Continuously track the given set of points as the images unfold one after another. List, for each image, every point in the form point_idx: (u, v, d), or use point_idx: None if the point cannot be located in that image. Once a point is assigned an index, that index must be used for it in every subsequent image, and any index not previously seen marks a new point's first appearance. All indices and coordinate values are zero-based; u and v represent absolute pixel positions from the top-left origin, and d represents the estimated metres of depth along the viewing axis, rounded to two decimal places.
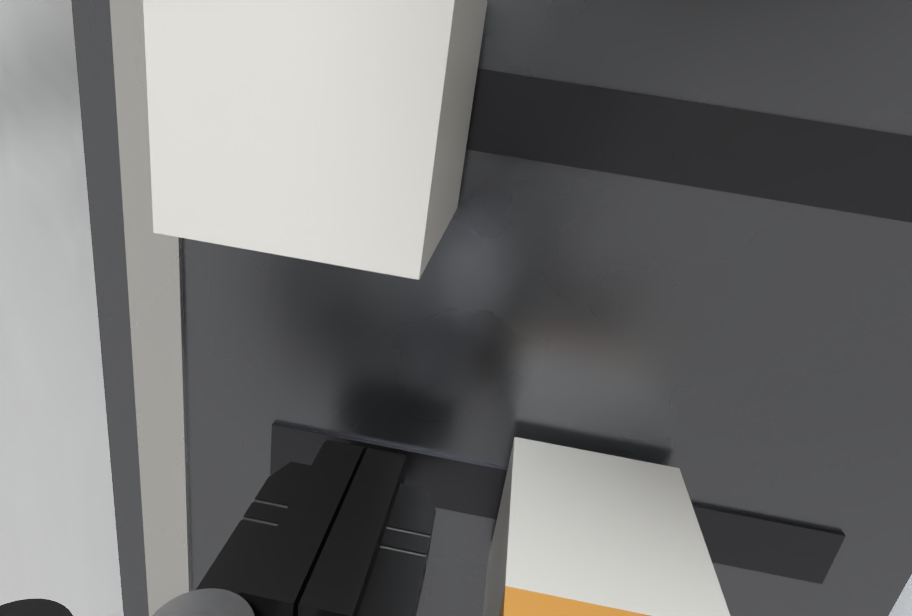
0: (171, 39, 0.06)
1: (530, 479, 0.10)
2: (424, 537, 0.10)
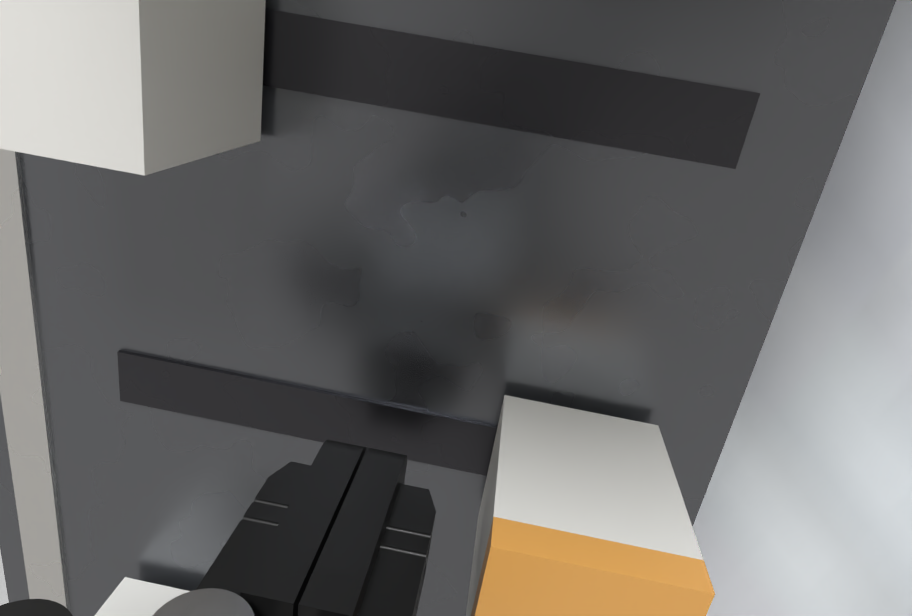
0: None
1: (519, 430, 0.11)
2: (424, 537, 0.10)
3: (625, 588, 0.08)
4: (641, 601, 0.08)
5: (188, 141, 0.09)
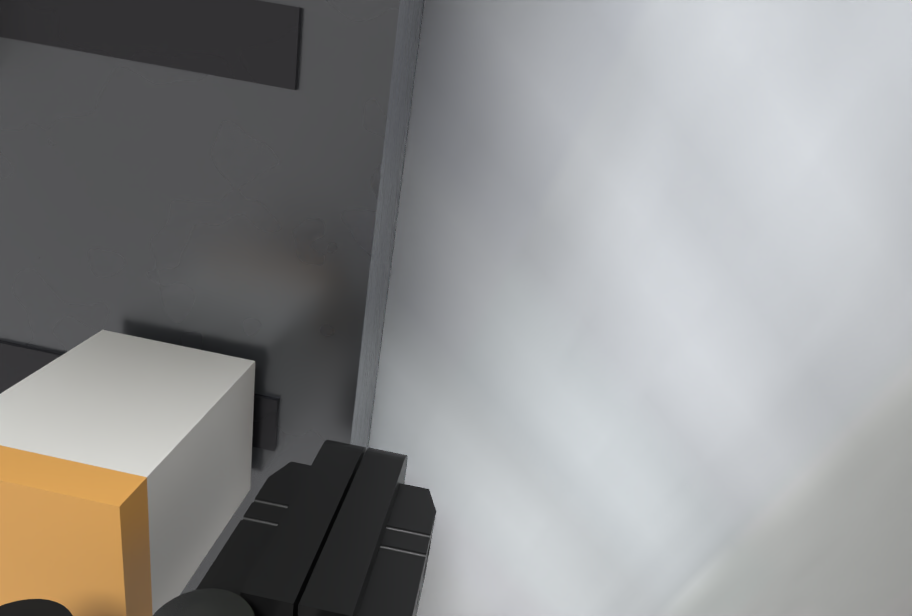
0: None
1: (77, 359, 0.11)
2: (424, 537, 0.10)
3: (37, 502, 0.08)
4: (57, 516, 0.08)
5: None
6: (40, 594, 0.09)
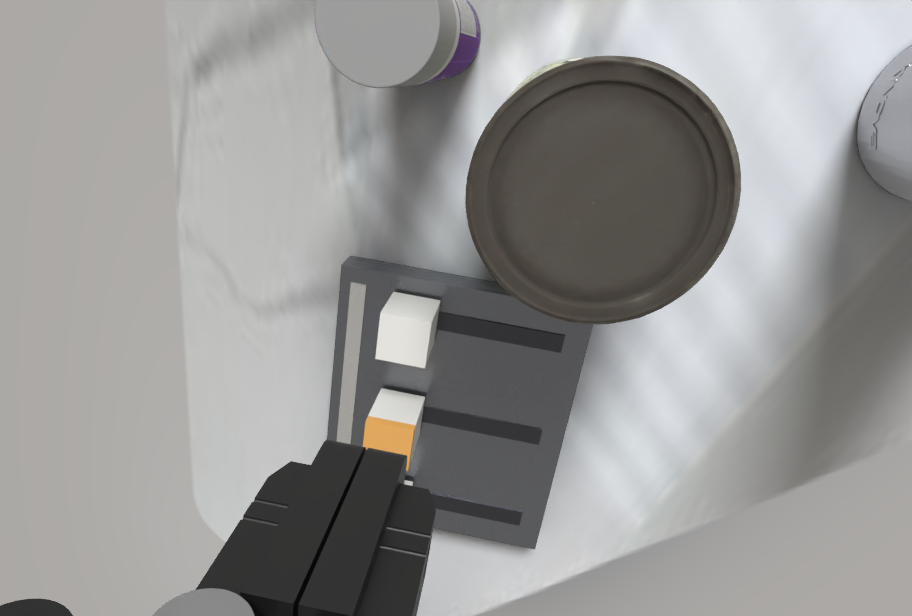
0: (383, 328, 0.36)
1: (381, 397, 0.41)
2: (424, 537, 0.10)
3: (395, 430, 0.38)
4: (399, 433, 0.38)
5: (428, 356, 0.38)
6: None
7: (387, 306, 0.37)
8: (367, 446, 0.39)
